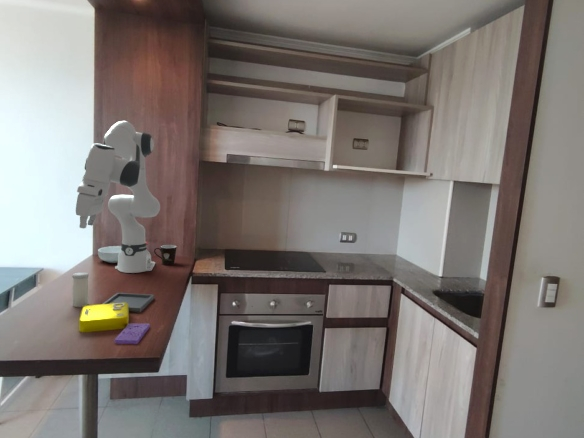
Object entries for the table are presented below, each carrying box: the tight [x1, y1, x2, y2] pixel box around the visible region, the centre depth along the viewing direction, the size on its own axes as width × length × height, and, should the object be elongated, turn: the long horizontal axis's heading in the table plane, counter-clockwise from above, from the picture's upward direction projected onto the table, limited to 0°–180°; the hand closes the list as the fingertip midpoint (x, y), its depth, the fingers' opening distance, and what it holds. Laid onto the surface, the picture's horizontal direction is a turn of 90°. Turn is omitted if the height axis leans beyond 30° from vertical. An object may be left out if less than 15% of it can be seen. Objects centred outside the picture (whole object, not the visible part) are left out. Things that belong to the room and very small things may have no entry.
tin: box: [71, 272, 89, 308], centre depth 143 cm, size 5×5×12 cm
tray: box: [102, 292, 155, 313], centre depth 147 cm, size 15×15×2 cm
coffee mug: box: [153, 244, 177, 266], centre depth 210 cm, size 12×9×10 cm
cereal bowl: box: [97, 245, 122, 264], centre depth 207 cm, size 17×17×7 cm
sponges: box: [114, 322, 150, 345], centre depth 122 cm, size 7×13×2 cm, turn 4°
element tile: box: [78, 303, 130, 333], centre depth 130 cm, size 15×15×5 cm
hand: (86, 226), depth 133 cm, fingers open, 8 cm apart
